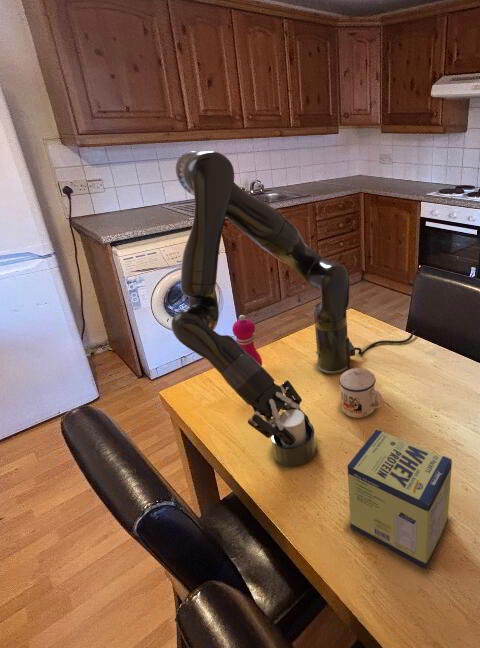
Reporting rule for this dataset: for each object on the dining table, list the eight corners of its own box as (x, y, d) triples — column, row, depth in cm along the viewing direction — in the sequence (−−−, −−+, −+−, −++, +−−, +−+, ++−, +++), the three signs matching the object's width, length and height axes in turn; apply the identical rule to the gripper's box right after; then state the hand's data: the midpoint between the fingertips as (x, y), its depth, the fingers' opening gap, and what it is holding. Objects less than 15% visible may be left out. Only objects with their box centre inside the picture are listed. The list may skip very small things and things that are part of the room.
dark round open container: (310, 431, 100) (309, 415, 98) (319, 460, 91) (318, 442, 90) (271, 441, 97) (269, 424, 95) (276, 471, 89) (274, 454, 87)
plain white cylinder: (304, 434, 97) (301, 406, 94) (309, 451, 92) (306, 423, 89) (280, 440, 95) (276, 412, 92) (284, 458, 90) (280, 429, 87)
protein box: (376, 487, 85) (375, 427, 79) (448, 521, 77) (454, 458, 71) (348, 528, 76) (345, 465, 70) (426, 571, 69) (430, 505, 63)
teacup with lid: (333, 410, 107) (331, 372, 102) (354, 391, 113) (353, 355, 109) (371, 428, 100) (371, 389, 96) (392, 408, 107) (392, 370, 102)
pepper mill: (267, 369, 124) (259, 309, 116) (258, 384, 117) (249, 321, 109) (243, 368, 124) (234, 309, 117) (234, 383, 118) (223, 321, 110)
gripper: (235, 389, 83) (293, 450, 83) (274, 352, 95) (324, 406, 96) (217, 405, 86) (273, 463, 87) (257, 367, 99) (306, 418, 100)
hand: (299, 432), depth 91 cm, fingers closed on plain white cylinder, 5 cm apart
